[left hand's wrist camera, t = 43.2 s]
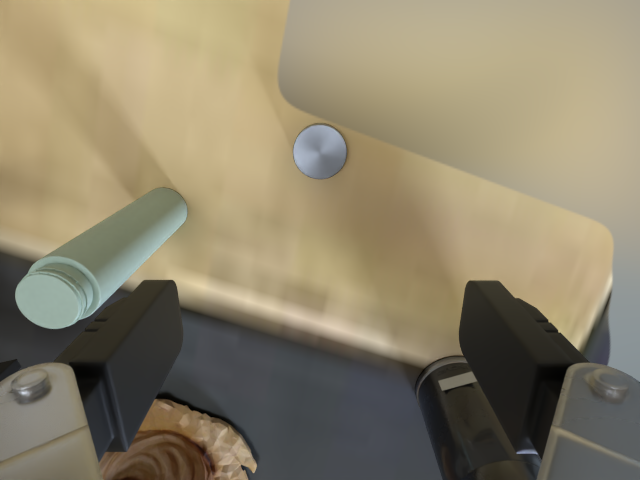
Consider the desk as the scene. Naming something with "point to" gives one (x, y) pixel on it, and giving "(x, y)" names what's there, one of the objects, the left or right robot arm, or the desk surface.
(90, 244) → the bottle
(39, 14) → the desk surface
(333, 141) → the lid
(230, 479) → the sculpture
